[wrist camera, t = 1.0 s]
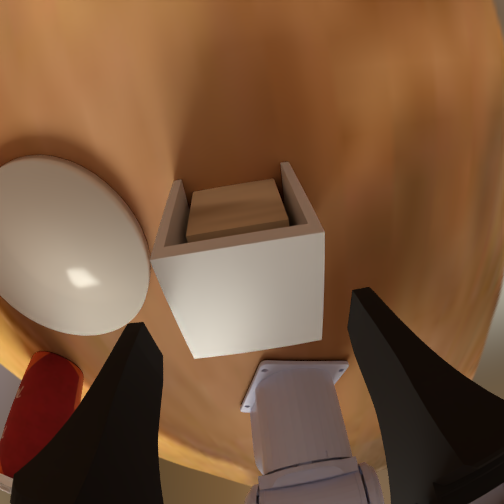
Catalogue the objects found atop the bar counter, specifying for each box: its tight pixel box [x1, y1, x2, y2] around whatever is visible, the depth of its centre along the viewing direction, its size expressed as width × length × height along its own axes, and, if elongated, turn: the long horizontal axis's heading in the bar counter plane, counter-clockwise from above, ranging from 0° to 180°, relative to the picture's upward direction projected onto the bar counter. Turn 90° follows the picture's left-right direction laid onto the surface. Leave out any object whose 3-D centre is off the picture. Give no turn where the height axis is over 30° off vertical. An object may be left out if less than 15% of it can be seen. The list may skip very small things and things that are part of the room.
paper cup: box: [0, 351, 84, 494], centre depth 18 cm, size 8×8×14 cm
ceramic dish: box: [0, 155, 151, 335], centre depth 16 cm, size 13×13×1 cm
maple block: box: [186, 178, 289, 243], centre depth 15 cm, size 4×4×4 cm
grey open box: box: [150, 162, 325, 359], centre depth 14 cm, size 6×6×6 cm
